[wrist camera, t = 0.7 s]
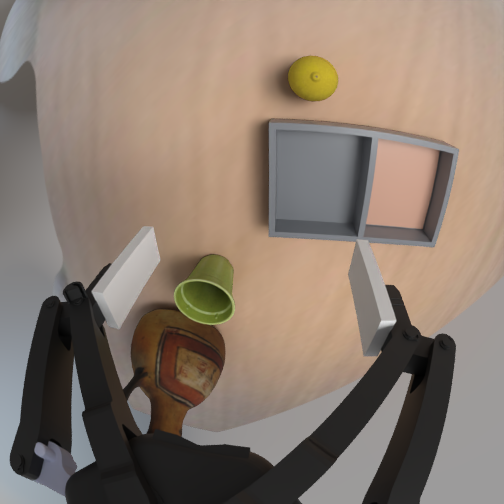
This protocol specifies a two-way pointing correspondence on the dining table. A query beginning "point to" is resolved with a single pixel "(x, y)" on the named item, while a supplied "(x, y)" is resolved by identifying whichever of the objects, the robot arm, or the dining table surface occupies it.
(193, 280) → the plant pot
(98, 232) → the dining table surface
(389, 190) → the sorting tray
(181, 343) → the ceramic pitcher
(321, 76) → the lemon
